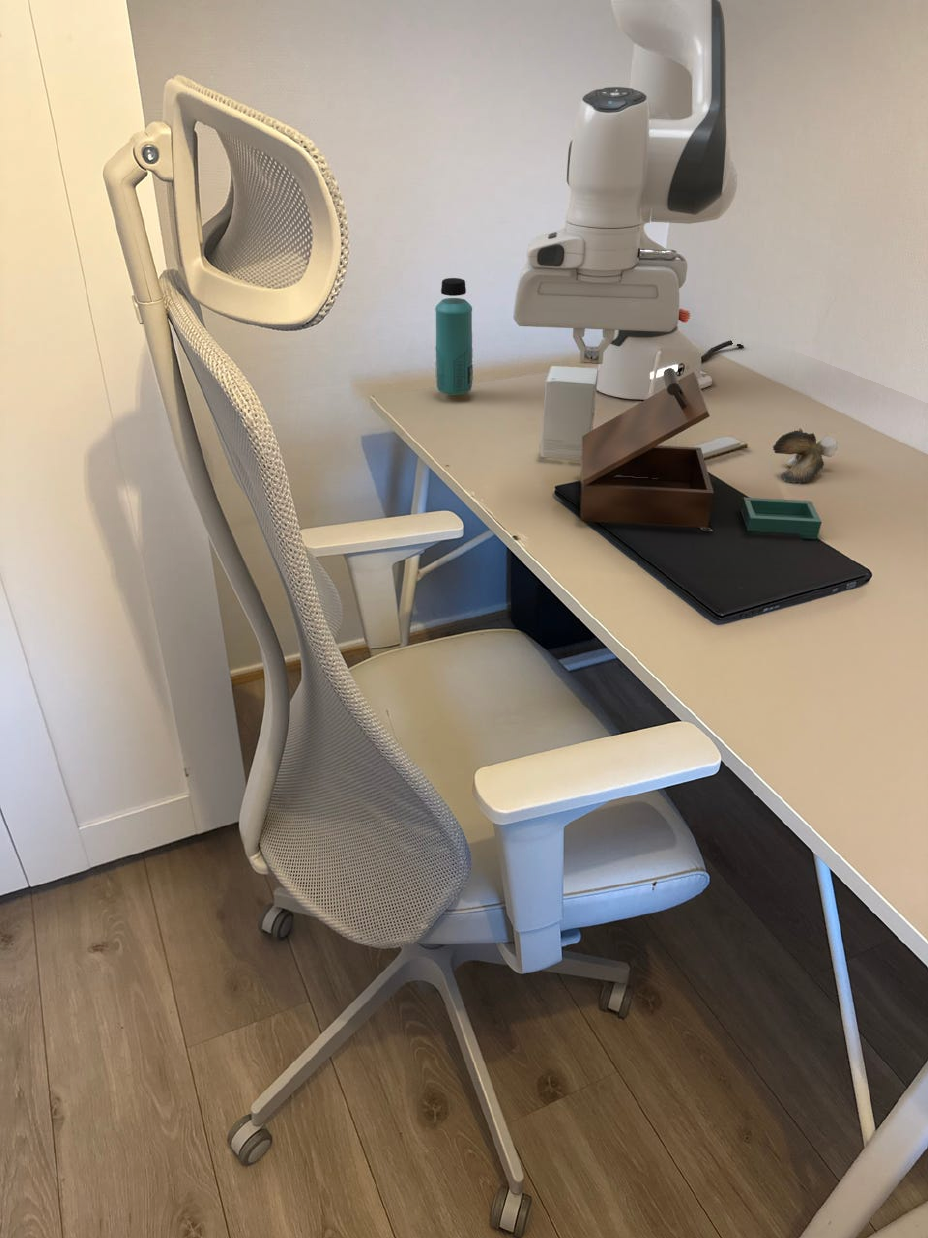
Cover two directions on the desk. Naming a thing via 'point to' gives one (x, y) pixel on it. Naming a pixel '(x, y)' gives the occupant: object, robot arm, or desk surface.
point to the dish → (781, 516)
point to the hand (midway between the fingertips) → (590, 362)
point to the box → (652, 490)
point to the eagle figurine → (804, 454)
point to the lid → (643, 426)
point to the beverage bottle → (454, 340)
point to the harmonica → (720, 447)
